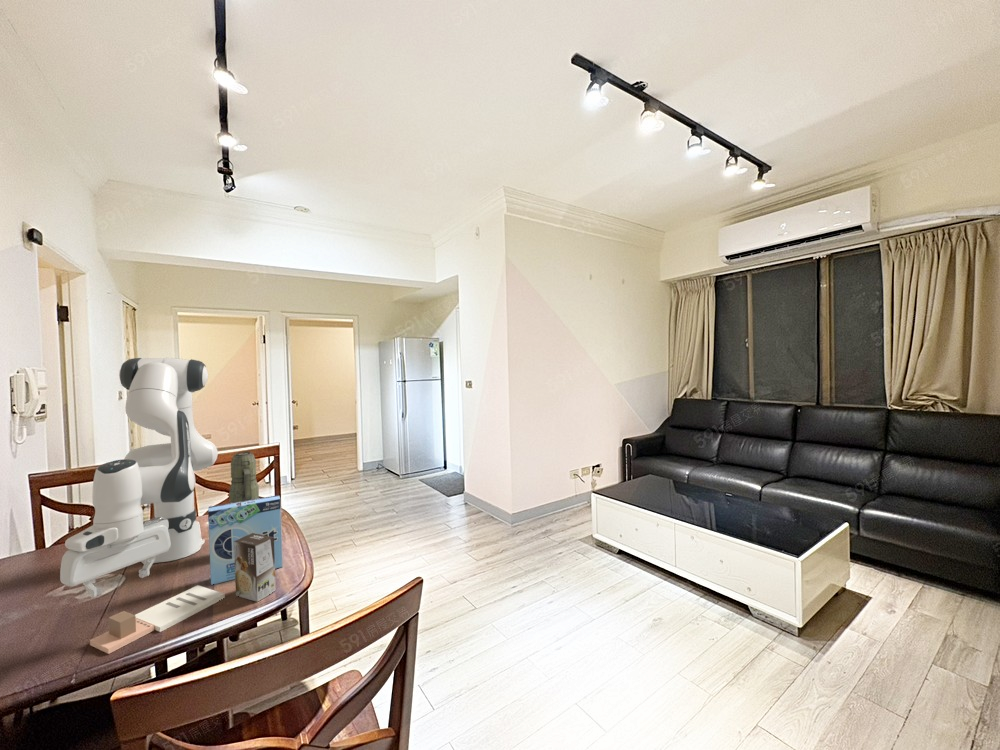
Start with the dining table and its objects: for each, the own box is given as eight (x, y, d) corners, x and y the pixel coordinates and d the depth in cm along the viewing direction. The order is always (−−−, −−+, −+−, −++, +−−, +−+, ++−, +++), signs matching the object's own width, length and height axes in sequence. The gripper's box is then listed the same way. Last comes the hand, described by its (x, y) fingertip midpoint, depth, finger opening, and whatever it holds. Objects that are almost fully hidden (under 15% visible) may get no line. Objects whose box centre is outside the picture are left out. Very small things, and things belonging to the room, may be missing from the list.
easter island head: (237, 561, 139) (235, 458, 138) (225, 551, 146) (223, 453, 145) (266, 551, 146) (263, 453, 145) (253, 542, 153) (250, 449, 152)
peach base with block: (89, 644, 98) (89, 623, 98) (135, 622, 106) (134, 602, 106) (108, 654, 95) (107, 631, 94) (154, 630, 103) (153, 610, 103)
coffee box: (277, 590, 121) (275, 536, 120) (257, 602, 115) (255, 545, 114) (254, 584, 124) (253, 532, 124) (234, 596, 118) (232, 540, 118)
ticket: (132, 620, 107) (132, 615, 107) (197, 589, 122) (197, 584, 122) (160, 632, 102) (160, 626, 102) (224, 598, 117) (224, 593, 117)
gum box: (281, 561, 138) (279, 494, 138) (282, 568, 134) (281, 498, 134) (210, 578, 128) (208, 505, 127) (210, 586, 124) (207, 510, 123)
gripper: (160, 512, 110) (162, 564, 111) (55, 543, 91) (57, 605, 92) (175, 515, 108) (176, 568, 108) (69, 548, 89) (72, 611, 89)
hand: (121, 585), depth 100 cm, fingers open, 8 cm apart
